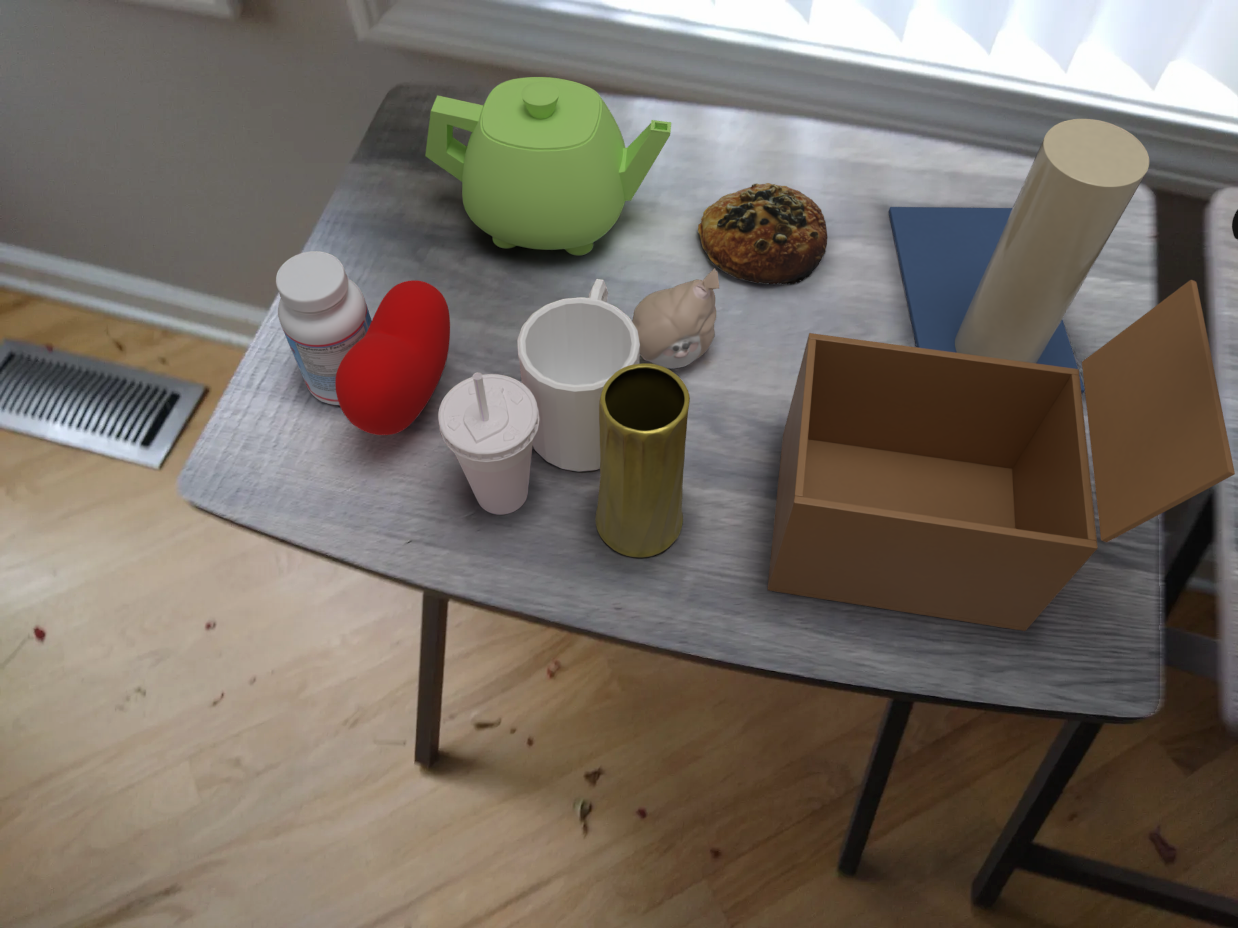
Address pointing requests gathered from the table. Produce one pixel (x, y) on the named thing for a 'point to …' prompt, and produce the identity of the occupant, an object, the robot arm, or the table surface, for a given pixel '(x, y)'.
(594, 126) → the teapot
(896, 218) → the mat
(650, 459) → the vase
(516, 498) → the smoothie
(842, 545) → the carton
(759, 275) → the bread roll
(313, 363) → the pill bottle
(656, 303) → the garlic bulb
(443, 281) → the table surface
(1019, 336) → the beige cylinder rod
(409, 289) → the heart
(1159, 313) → the flap
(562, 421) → the mug
